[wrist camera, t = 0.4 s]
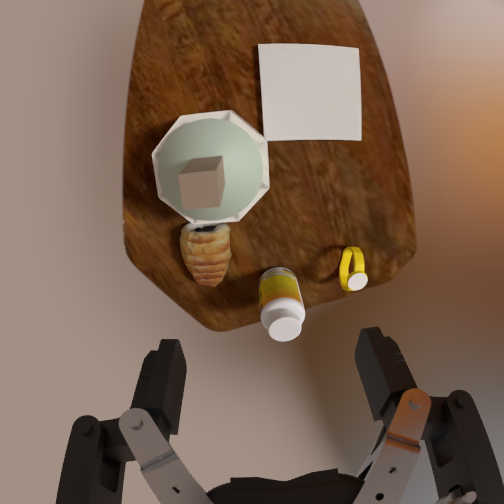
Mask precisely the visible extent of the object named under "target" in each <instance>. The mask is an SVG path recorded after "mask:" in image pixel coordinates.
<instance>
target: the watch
mask: <svg viewBox="0 0 504 504" xmlns="http://www.w3.org/2000/svg"><path fill="white" fill-rule="evenodd" d="M352 254H353V259H354V272H352V273H350V275H349V276H348V267H349V263H350V259H351V255H352ZM339 279H340V284H341V286H342V288H343V289H344V290H349V291H356V290H359V289H361V288H363V287H364V286H365V285H366V283H367V280H368V278H367V275H366V274H365V272H364V258H363V254H362V252H361V250H360V248H358V247H349V246H347V247H346V248H345V249H344V250H343V255H342V259H341V263H340V266H339Z"/></svg>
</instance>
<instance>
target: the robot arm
mask: <svg viewBox="0 0 504 504" xmlns="http://www.w3.org/2000/svg"><path fill="white" fill-rule="evenodd" d="M355 362H356V366H357V369H358V372H359V375H360V378H361V381H362V384H363V386H364V390H365V393H366V396H367V399H368V402H369V405H370V409H371V412H372V415H373V419H374V421H377V420H383V423H384V425H383V427H382V429H381V431H380V433H379V435H378V438H377V440H376V442H375V444H374V446H373V448H372V450H371V452H370V454H369V456H368V458H367V460H366V461H365V463H364V464H363V466H362V468H361V469H360V471H359V472H358V474H357V476H356V477H354V476H351V475H348V474H342V473H338V469H337V468H336V469H331V470H325V471H318V472H312V473H309V474H306V475H304V476H300V477H297V478H295V479H292V480H288V481H277V480H271V479H265V478H259V477H244V478H230V480H231V481H230V483H226V484H223V485H220V486H218V487H215V488H213V489H212V490H210V491H208V492H207V493H206V492H205V491H204V489H203V488H202V487H201V486H200V485H199V483H198V482H197V481H196V480H195V478H194V477H193V476H192V474H191V473H190V472H189V471H188V469H187V468H186V467H185V465H184V464H183V463H182V461H181V460H180V458H179V457H178V456H177V454H176V453H175V451H174V450H173V448H172V447H171V446H170V444H169V438H170V434H173V435H177V434H178V427H179V419H180V413H181V405H182V399H183V392H184V386H185V379H186V372H187V367H186V360H185V357H184V354H183V351H182V347H181V344H180V341H179V340H178V339H162V340H161V342H160V345H159V349H158V351H154V350H153V351H152V350H151V351H150V353H149V354H148V355H147V356H146V357H145V358H144V361H143V364H142V368H141V372H140V375H139V379H138V382H137V386H136V389H135V393H134V397H133V400H132V404H131V407H130V409H129V410H127V411H126V412H124V413H123V414H122V416H121V417H120V418H117V419H112V420H105V421H98V420H97V419H96V418H95V417H93V416H90V415H85V416H81V417H79V418H78V419H77V420H76V421H75V422H74V424H73V426H72V430H71V434H70V438H69V441H68V445H67V450H66V454H65V458H64V463H63V467H62V472H61V477H60V482H59V487H58V493H57V499H56V504H121V501H122V491H123V481H124V472H125V465H126V462H128V461H135V460H137V461H138V463H139V465H140V467H141V472H142V475H143V476H144V478H145V479H146V481H147V483H148V484H149V486H150V488H151V489H152V491H153V492H154V494H155V495H156V497H157V498H158V500H159V501H160V503H161V504H398V502H399V500H400V498H401V496H402V494H403V492H404V490H405V487H406V485H407V483H408V481H409V478H410V476H411V474H412V471H413V469H414V466H415V464H416V461H417V458H418V456H419V453H420V449H421V447H420V446H419V442H420V440H425V444H426V447H427V450H428V455H429V458H430V462H431V466H432V470H433V474H434V478H435V483H436V487H437V492H438V496H439V500H438V501H437V502H436V503H435V504H504V485H503V482H502V478H501V475H500V472H499V468H498V465H497V462H496V459H495V456H494V452H493V450H492V447H491V444H490V441H489V438H488V435H487V433H486V430H485V427H484V425H483V422H482V420H481V417H480V415H479V413H478V410H477V408H476V405H475V403H474V401H473V399H472V397H471V395H470V394H469V393H467V392H466V391H463V390H456V391H453V392H452V393H451V394H450V395H449V396H448V397H431V396H429V395H428V394H427V393H426V392H425V391H423V390H421V389H418V387H417V386H416V383H415V381H414V379H413V377H412V374H411V372H410V370H409V368H408V366H407V364H406V362H405V361H404V357H403V355H402V354H401V351H400V349H399V347H398V345H397V343H396V342H395V341H394V340H393V339H391V338H390V337H389V336H387V337H383V334H382V332H381V330H380V328H379V327H370V328H363V329H362V330H361V332H360V335H359V339H358V343H357V346H356V350H355Z"/></svg>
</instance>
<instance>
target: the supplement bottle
mask: <svg viewBox="0 0 504 504" xmlns="http://www.w3.org/2000/svg"><path fill="white" fill-rule="evenodd" d="M259 300H260V315H261V322H262V324H263V325H264V327H265V328H266V329H268V332H269V335H270V336H271V337H272V338H273V339H275V340H277V341H289V340H292V339H294V338H296V337H297V336H298V335H299V334H300V332H301V324H302V322H303V321H304V317H305V310H304V306H303V302H302V298H301V294H300V290H299V287H298V283H297V279H296V277H295V275H294V274H293V273H292V272H291V271H290V270H288V269H286V268H282V267H275V268H271V269H269V270H267V271H266V272H264V273H263V274H262V276H261V277H260V280H259Z"/></svg>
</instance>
